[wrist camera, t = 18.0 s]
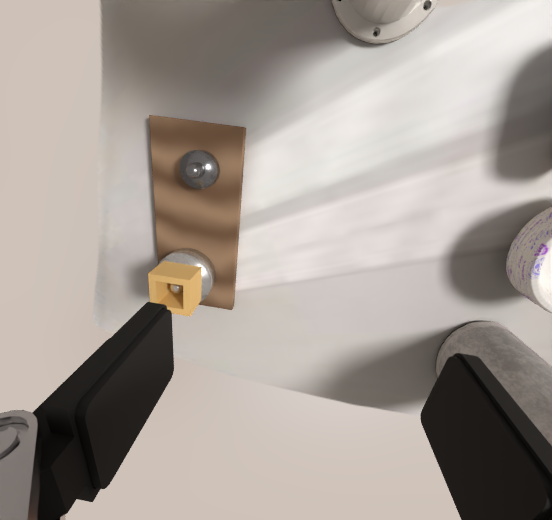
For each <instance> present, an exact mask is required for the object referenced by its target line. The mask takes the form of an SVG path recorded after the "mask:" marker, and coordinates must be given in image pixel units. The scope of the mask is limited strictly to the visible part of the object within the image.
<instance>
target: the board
mask: <svg viewBox="0 0 552 520" xmlns="http://www.w3.org/2000/svg"><path fill="white" fill-rule="evenodd" d="M149 121H150V137H151V154H152V170H153V187H154V203H155V219H156V236H157V252H158V264H159V262H160V261H161V260H162V259H164V258H165V257H166V256H168V255H169V254H170V253H171V252H173V251H175V250H177V249H180V248H191V249H195V250H198V251H200V252H201V253H203V254H204V255H206V256H207V257H208V258H209V259H210V261H211V262H212V264H213V265H214V268H215V271H216V282H215V285H214V286H213V288H212V290H211V291H210V293H209V294H208V296H207V297H206V298H205V299H204V300H203V301H202V302H200V303H199V305H205V306H211V307H217V308H223V309H229V310H232V309H233V306H234V297H235V283H236V268H237V253H238V239H239V224H240V209H241V195H242V180H243V166H244V151H245V136H246V128H244V127H238V126H230V125H222V124H215V123H207V122H199V121H191V120H184V119H176V118H168V117H161V116H153V115H149ZM192 150H205V151H208V152H210V153H211V154H212V155H214V157H215V158H216V159H217V161H218V163H219V166H220V175H219V178H218V180H217V181H216V182H215V183H214V184H213V185H211V186H209V187H207V188H204V189H196V188H193V187H191V186H189V185H188V184H187V183H186V182H185V181H184V180H183V178H182V176H181V173H180V162H181V159H182V157H183V156H184V155H185V154H186V153H187V152H189V151H192Z"/></svg>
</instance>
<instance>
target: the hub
mask: <svg viewBox="0 0 552 520" xmlns="http://www.w3.org/2000/svg"><path fill="white" fill-rule="evenodd" d="M163 261H168V262H174V263H180V264H187V265H193V266H199V267H202V286H201V301H200V302H202V301H203V300H204V299H205V298H206V297H207V296H208V294H209V293H210V291H211V290H212V288H213V286H214V285H215V282H216V271H215V268H214V265H213V264H212V262H211V261H210V259H209V258H208V257H207V256H206V255H204V254H203V253H201V252H200V251H198V250H195V249H191V248H180V249H177V250H175V251H173V252H171V253H170V254H169V255H168V256H166V257H165V258H164V259H162V260H161V261H160V262H159V264H160V263H162V262H163ZM159 264H158V265H159ZM158 265H157V266H158ZM170 288H171V290H172V292H174V293H181V292H183V285H177V284H171V286H170Z"/></svg>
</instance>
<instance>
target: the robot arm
mask: <svg viewBox="0 0 552 520" xmlns="http://www.w3.org/2000/svg"><path fill="white" fill-rule="evenodd" d="M331 1H332V4H333V7H334V10H335V13H336V15H337V17H338V19H339V21H340V23H341V24H342V25H343V26H344V28H345V29H346V30H347V31H348V32H349V33H350V34H352V35H353V36H354V37H356V38H358V39H360V40H362V41H365V42H369V43H375V44H377V43H388V42H391V41H395V40H398V39H400V38H401V37H403V36H405V35H407V34H409V33H410V32H411V31H413V30H414V29H415V28H417V27H418V26H419V25H420V24H421V23H422V22H423V21H424V20H425V19H426V18H427V16H428V15H429V14H430V13H431V12H432V11H433V9H434V8H435V6H436V5H437V3H438V1H439V0H341V1H337V0H331ZM424 6H425V7H426V10H424V9H423V7H424ZM373 33H377V36H376V37H375V36H373ZM173 371H174V361H173V336H172V313H171V310H168V309H167V306H166V305H165V304H159V303H152V302H147V303H146V304H145V305H144V306H143V307H142V308H141V309H140V310H139V311H138V312H137V313H136V314H135V315H134V316H133V317H132V318H131V319H130V320H129V321H128V322H126V323H125V324H124V325H123V326H122V327H121V328H120V329H119V330H118V331H117V332H116V333H115V334H114V335H113V336H112V337H111V338H110V339H108V340H107V341H106V342H105V343H104V344H103V345H102V346H101V347H100V348H99V349H98V350H97V351H96V352H94V353H93V354H92V355H91V356H90V357H89V358H88V359H87V360H86V361H85V362H84V363H83V364H82V365H81V366H80V367H79V368H78V369H77V370H76V371H75V372H74V373H73V374H72V375H71V376H70V377H69V378H68V379H67V380H66V381H65V382H64V383H63V384H61V385H60V386H59V387H58V388H57V390H55V391H54V392H53V393H52V394H51V395H50V396H49V397H48V398H47V399H46V400H45V401H44V402H43V403H42V404H41V405H40V406H39V407H38V408H37V409H36V410H35V411H34V412H33V413H31V412H28V411H24V410H14V411H9V412H4V413H0V520H65V514H66V513H68V511H69V510H70V508H71V507H72V505H73V504H74V502H75V500H76V499H80V500H85V501H89V502H93V500H94V499H95V497H96V495H97V494H98V492H99V490H100V489H105V488H106V487H107V486H108V485H109V484H110V482H111V481H112V479H113V477H114V476H115V474H116V472H117V471H118V469H119V467H120V465H121V463H122V462H123V460H124V458H125V457H126V455H127V453H128V452H129V450H130V448H131V446H132V445H133V443H134V441H135V440H136V438H137V436H138V434H139V433H140V431H141V429H142V428H143V426H144V424H145V422H146V421H147V419H148V417H149V415H150V414H151V412H152V410H153V409H154V407H155V405H156V403H157V402H158V400H159V398H160V397H161V395H162V393H163V392H164V390H165V388H166V386H167V385H168V383H169V381H170V379H171V378H172V375H173ZM421 423H422V426H423V428H424V430H425V433H426V435H427V438H428V440H429V442H430V445H431V447H432V450H433V452H434V455H435V457H436V459H437V462H438V464H439V467H440V469H441V471H442V474H443V476H444V478H445V481H446V483H447V486H448V488H449V491H450V493H451V496H452V498H453V500H454V503H455V505H456V508H457V510H458V512H459V515H460V517H461V519H462V520H552V446H551V444H550V443H549V442H548V441H547V440H546V438H545V437H544V436H543V435H542V433H541V432H540V431H539V430H538V429H537V427H536V426H535V425H534V424H533V422H532V421H531V420H530V419H529V418H528V416H527V415H526V414H525V413H524V411H523V410H522V409H521V408H520V407H519V405H518V404H517V403H516V402H515V400H514V399H513V398H512V397H511V396H510V394H509V393H508V392H507V391H506V389H505V388H504V387H503V386H502V385H501V383H500V382H499V381H498V380H497V378H496V377H495V376H494V375H493V374H492V372H491V371H490V370H489V369H488V367H487V366H486V365H485V364H484V363H483V361H482V360H481V359H480V358H479V357H477V356H474V355H468V354H462V353H455V354H454V355H453V356H451V357H449V358H448V359H447V361H446V363H445V365H444V367H443V369H442V371H441V373H440V375H439V377H438V379H437V381H436V383H435V385H434V387H433V389H432V391H431V393H430V395H429V397H428V399H427V401H426V403H425V405H424V407H423V409H422V412H421Z"/></svg>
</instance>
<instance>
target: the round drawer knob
mask: <svg viewBox="0 0 552 520" xmlns="http://www.w3.org/2000/svg"><path fill="white" fill-rule="evenodd" d="M180 173H181V176H182V178H183V180H184V181H185V182H186V183H187V184H188V185H189V186H191V187H193V188H196V189H204V188H207V187H209V186H211V185H213V184H214V183H215V182H216V181H217V180H218V178H219V175H220V166H219V163H218V161H217V159H216V158H215V157H214V155H212V154H211V153H210V152H208V151H205V150H192V151H189V152H187V153H186V154H185V155H184V156H183V157H182V159H181V162H180Z"/></svg>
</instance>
